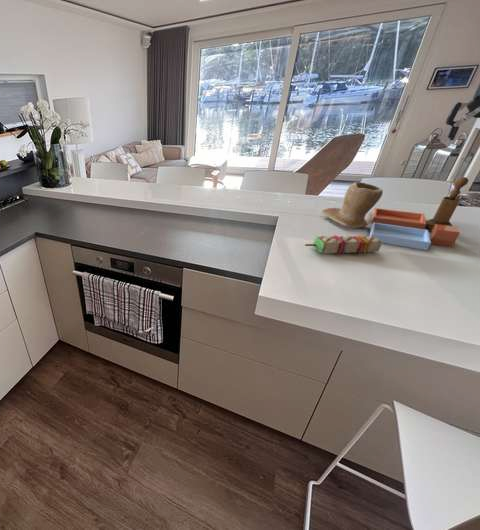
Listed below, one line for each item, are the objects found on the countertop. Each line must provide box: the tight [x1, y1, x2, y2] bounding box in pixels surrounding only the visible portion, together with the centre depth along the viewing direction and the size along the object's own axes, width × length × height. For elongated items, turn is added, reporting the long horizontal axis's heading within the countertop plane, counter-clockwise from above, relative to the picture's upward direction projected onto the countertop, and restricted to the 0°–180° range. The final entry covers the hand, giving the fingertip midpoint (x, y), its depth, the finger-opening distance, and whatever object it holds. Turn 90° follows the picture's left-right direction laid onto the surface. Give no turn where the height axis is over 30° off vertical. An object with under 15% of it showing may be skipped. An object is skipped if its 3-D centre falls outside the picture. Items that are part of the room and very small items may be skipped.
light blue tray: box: [369, 222, 432, 251], centre depth 96 cm, size 14×11×3 cm
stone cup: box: [321, 181, 384, 229], centre depth 107 cm, size 15×12×15 cm
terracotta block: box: [429, 224, 461, 248], centre depth 91 cm, size 5×5×5 cm
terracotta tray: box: [371, 207, 427, 230], centre depth 107 cm, size 14×11×3 cm
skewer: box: [304, 234, 383, 254], centre depth 91 cm, size 21×6×5 cm, turn 84°
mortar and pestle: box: [424, 176, 469, 232], centre depth 96 cm, size 7×6×18 cm
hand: (471, 140), depth 86 cm, fingers open, 8 cm apart
